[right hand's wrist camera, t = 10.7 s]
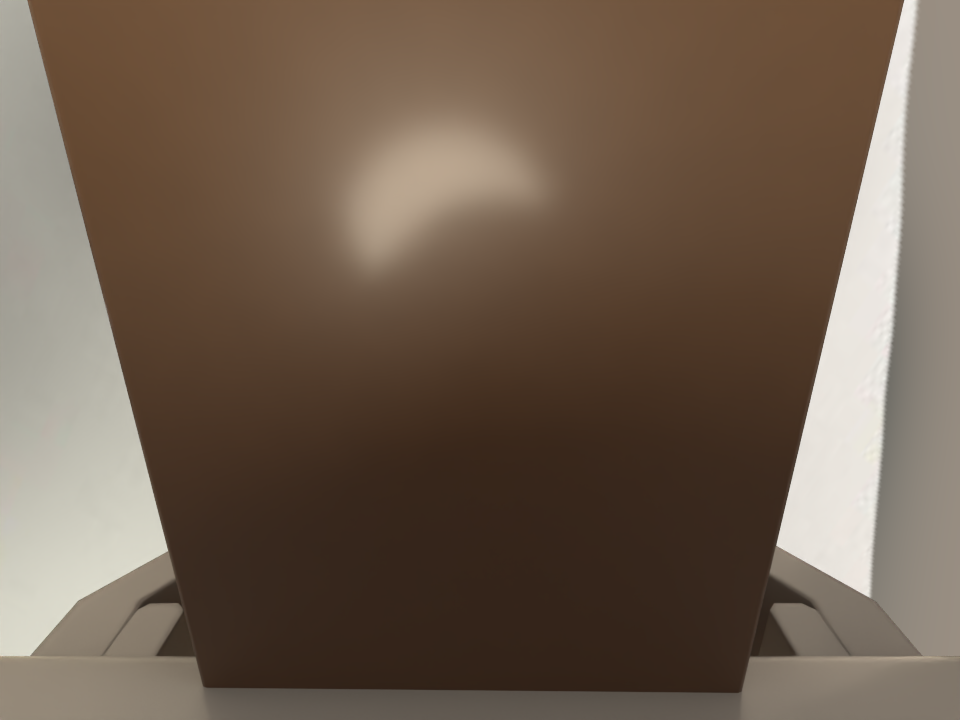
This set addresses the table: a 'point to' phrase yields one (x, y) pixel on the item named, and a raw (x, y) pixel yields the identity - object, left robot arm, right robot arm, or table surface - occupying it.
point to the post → (469, 317)
